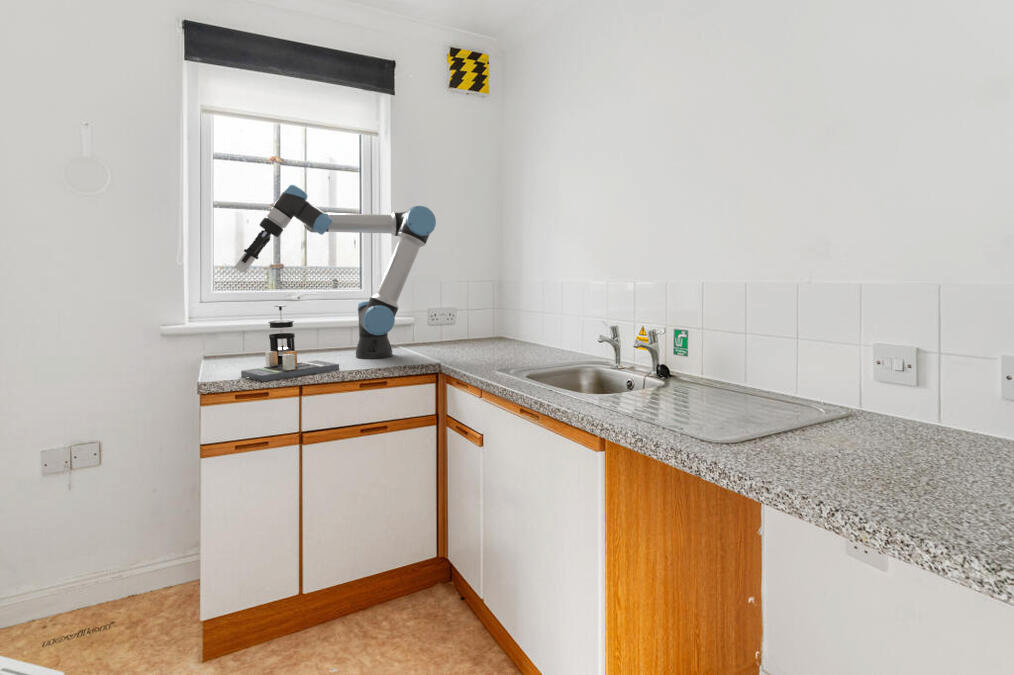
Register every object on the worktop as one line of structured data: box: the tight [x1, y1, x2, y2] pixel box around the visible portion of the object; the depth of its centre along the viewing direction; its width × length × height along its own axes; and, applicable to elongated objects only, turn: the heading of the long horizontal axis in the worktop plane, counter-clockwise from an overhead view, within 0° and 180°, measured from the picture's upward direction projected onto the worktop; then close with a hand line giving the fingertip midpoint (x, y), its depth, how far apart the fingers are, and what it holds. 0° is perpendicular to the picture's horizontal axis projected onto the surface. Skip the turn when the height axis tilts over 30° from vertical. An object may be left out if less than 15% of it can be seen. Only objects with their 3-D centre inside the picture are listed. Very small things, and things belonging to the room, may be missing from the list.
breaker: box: [284, 350, 298, 366], centre depth 184 cm, size 3×2×5 cm
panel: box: [240, 350, 340, 383], centre depth 184 cm, size 28×15×8 cm, turn 140°
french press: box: [267, 304, 296, 365], centre depth 199 cm, size 12×9×23 cm
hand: (239, 270), depth 189 cm, fingers open, 13 cm apart
